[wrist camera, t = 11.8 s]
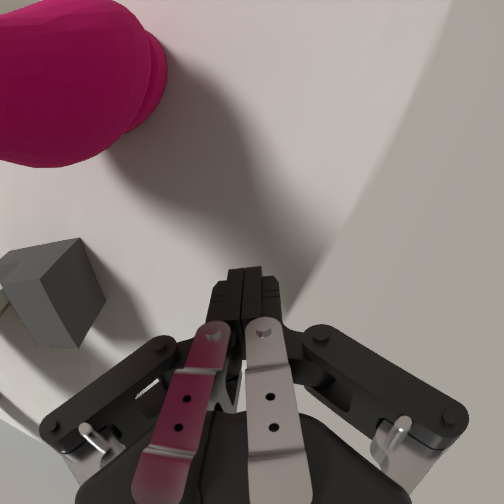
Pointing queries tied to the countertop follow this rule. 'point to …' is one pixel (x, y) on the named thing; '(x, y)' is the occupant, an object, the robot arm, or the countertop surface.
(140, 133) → the countertop surface
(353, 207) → the countertop surface
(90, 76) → the pepper mill
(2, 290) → the sliding door
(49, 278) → the block
